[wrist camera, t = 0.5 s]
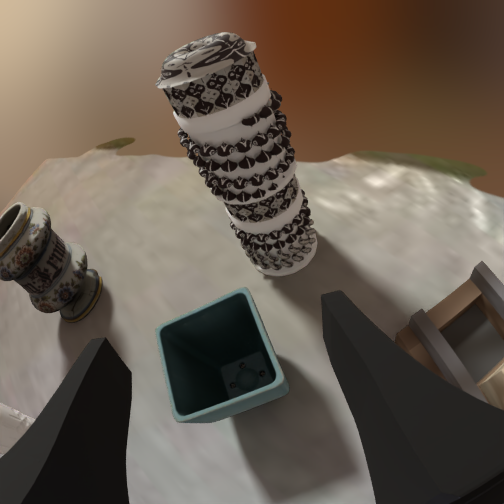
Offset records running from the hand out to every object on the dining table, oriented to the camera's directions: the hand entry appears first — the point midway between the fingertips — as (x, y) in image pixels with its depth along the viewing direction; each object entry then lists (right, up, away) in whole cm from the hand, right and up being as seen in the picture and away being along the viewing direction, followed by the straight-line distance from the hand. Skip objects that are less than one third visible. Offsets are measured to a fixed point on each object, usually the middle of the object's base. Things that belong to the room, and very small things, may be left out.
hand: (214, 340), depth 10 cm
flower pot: (+1, -10, +20) cm, 22 cm away
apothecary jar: (-26, -4, +35) cm, 44 cm away
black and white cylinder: (+5, +3, +28) cm, 29 cm away
